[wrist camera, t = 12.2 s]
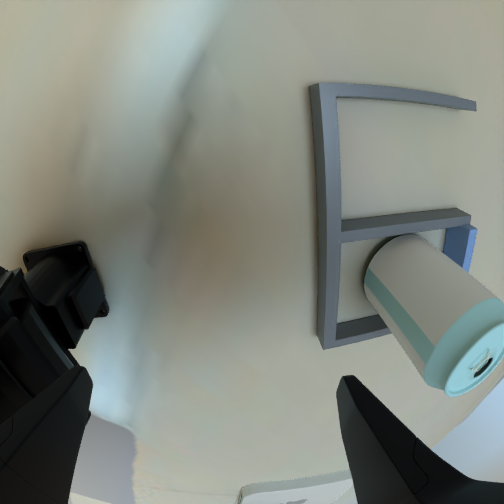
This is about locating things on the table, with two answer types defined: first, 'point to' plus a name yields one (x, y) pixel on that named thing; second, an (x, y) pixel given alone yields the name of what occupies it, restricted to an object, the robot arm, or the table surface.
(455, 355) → the can
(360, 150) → the table surface
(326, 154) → the grey flat frame
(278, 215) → the table surface
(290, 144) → the table surface
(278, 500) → the computer
